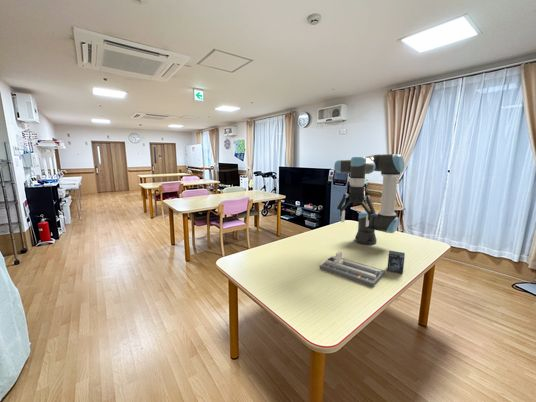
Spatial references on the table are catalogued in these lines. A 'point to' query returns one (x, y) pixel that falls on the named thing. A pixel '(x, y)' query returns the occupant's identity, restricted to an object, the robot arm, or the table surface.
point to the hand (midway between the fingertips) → (354, 223)
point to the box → (396, 261)
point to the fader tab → (339, 258)
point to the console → (354, 271)
